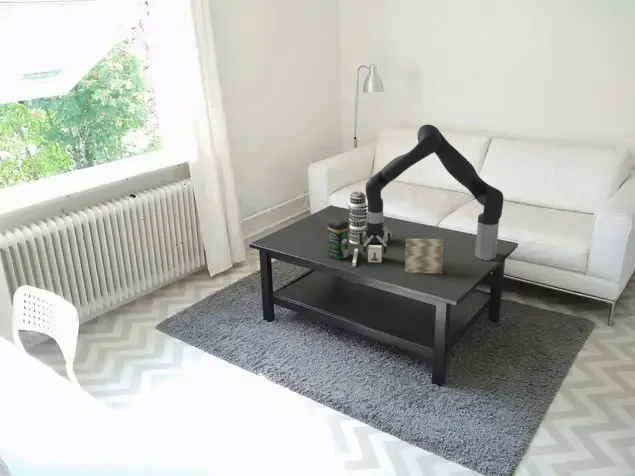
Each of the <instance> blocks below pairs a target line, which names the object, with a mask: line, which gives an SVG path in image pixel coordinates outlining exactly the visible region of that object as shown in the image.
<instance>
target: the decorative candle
mask: <svg viewBox="0 0 635 476" xmlns="http://www.w3.org/2000/svg"><path fill="white" fill-rule="evenodd" d="M348 217H349V218H348V219H349V221H350V222H349V223H350V224H349V227H348V232H349V235H348V236H349V237H348V239H349V241H348V242H349V243H350V244H354V245H360V244H359V242H360V231H363V232H366V231H367V196H366V194H365V193H364V192H362V191H354V192H352V193H351V194H350V195H349V204H348ZM366 239H367V236H366V235H364V237H363V239H362V241H363V242H365V240H366Z"/></svg>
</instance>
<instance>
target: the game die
mask: <svg viewBox="0 0 635 476" xmlns="http://www.w3.org/2000/svg"><path fill="white" fill-rule="evenodd" d="M391 227H392V226H389V227H386V226H384V228H383V231H384V232H388V231H390V236H391V238H392V237H394V236H395V235H393V233H392V230H391ZM383 238H384V240H385V241H386V242H388V237H386V235H384V236H383ZM378 242H380V241H378ZM378 242H377V243H378Z"/></svg>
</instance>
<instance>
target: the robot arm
mask: <svg viewBox="0 0 635 476" xmlns="http://www.w3.org/2000/svg"><path fill="white" fill-rule="evenodd" d="M432 154H435V155H436V156H437V157H438V159H439V161H440V162H441V164H442V166H443V167H444V168H445V170H446V171H447V172H448V173H449V174H450V175H451V176H452V177H453V178H454V180H456V181H457V182H458V183H459V184H461V185H462V186H463V187H465V188H466V189H467V190H468V191H469V193H471V195H472V196H473V197H474V198H475V200H476V201H477V202H478V203H479V204H480V205H481V206H483V211H482V212H481V213H479V215H478V216H477V227H476V228H477V229H476V241H475V242H476V243H475V253H474V254H475V255H474V256H476V257H477V258H476V257H475V258H476V259H478V258H479V259H478V260H481V259H483V260H482V261H492V260H491V259H493V260H495V259H496V258H497V250H498V247H497V246H498V239H499V238H498V235H499V226H500V219H501V217H502V213H503V208H504V195H503V194H504V193H503V192H502V191H501V190H499V189H498V188H496V187H493V186H492V185H490V184H488V183H487V182H486V181H484V180H483V179H482V178H481V177H480V176H479V174H478V173H477V170H476V168H475V167H474V166H473V164H472V163H471V162H470V161H469V160H468V159H467V158H466V157H465V156H464V155H463V154H461V152H460V151H458V150H457V149H456V147H454V146H453V145H452V144H451V143H449V141H448V140H447V139H446V137H444V135H443V134H442V133H441V131H440V130H439V129H438V127H436V126H435V125H433V124H424V125H422V126H420V127H419V128H418V131H417V144H416V145H415V146H414V147H413V148H412V149H410V150H409V151H408V152H407V153H404V154H402V155H399V156H396V157H395V158H393V159H392V160H390V161H389V162H388V163H387V164H386V165H385V166H384V167H383V168H382V169H381V170H379V171H378V172H376V173H375V175H372V177H371V178H369V179H368V180H367V182H366V183H365V184H366V185H365V195H366V205H367V207H366V209H367V211H366V212H367V214H366V216H367V218H366V228H367V229H366V232H363V231H360V242H359V244H358V245H360V246H362V247H363V249H362V250H363V253H364V254H368V248H367V245H368V244H369V243H372V242H375V243H376V242H377V243H378V241H379V242H380V243H381V244H382V246H383V255H386V253H387V249H388V248H387V247H388V246H391V244H392V237H391V236H390V231H388V232H384V231H383V228H384V227H385V226H384V220H385V217H384V216H385V215H384V200H383V198H382V191H383V189H384V188H386V186H387V185H389V183H391V182H393V181H394V180H395V179H397V178H398V177H399V176H401V175H402V174H403V173H404V172H406V170H408V169H409V168H411V167H412V166H413V165H415V164H417V163H418V162H421V161H422V160H423V159H425V158H427V157H429V156H430V155H432ZM364 235H366V240H365V242H363V241H362V239H363V237H364ZM384 235H386V237H388V242H386V241H385V240H384V238H383V236H384ZM494 258H495V259H494Z"/></svg>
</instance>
